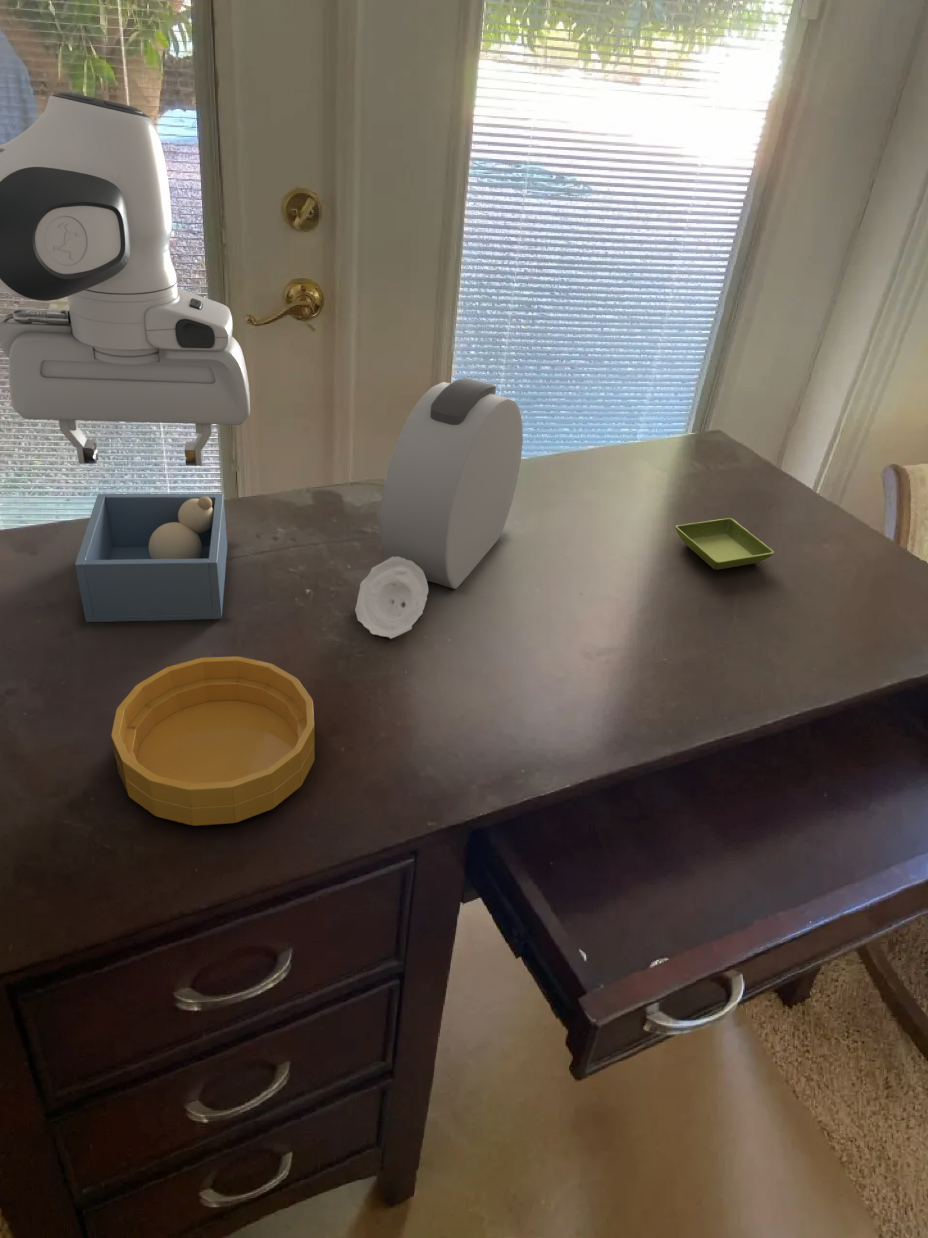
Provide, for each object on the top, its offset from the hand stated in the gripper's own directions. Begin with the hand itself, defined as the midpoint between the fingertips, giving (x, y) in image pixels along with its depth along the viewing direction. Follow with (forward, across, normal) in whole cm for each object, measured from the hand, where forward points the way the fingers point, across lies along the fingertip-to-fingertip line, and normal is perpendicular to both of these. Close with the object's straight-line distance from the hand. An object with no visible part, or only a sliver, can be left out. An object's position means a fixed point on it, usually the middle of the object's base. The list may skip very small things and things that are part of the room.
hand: (142, 462), depth 84 cm
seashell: (+14, +24, -8) cm, 28 cm away
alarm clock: (+13, +32, +5) cm, 35 cm away
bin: (+14, 0, 0) cm, 14 cm away
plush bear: (+12, +1, 0) cm, 12 cm away
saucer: (+13, +65, +4) cm, 66 cm away
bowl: (+14, +7, -26) cm, 30 cm away
